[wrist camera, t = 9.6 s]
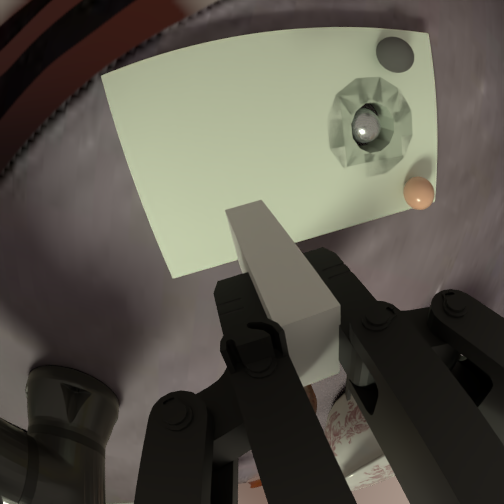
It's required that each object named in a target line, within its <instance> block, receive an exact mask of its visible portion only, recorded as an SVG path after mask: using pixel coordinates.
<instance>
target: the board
mask: <svg viewBox="0 0 504 504" xmlns="http://www.w3.org/2000/svg"><path fill="white" fill-rule="evenodd" d="M386 37H398V38H401V39H403V40H404V41H406V42H407V43H408V44H409V45H410V46H411V48H412V50H413V52H414V63H413V65H412V67H411V68H410V69H409V70H407V71H405V72H402V73H394V72H391V71H388V70H387V69H385V68H384V67H383V66H382V65H381V64H380V63H379V61H378V59H377V56H376V48H377V45H378V43H379V42H380V41H381V40H382V39H384V38H386ZM101 78H102V82H103V85H104V89H105V92H106V96H107V100H108V103H109V106H110V110H111V113H112V117H113V120H114V123H115V126H116V129H117V133H118V136H119V139H120V142H121V145H122V148H123V151H124V154H125V157H126V160H127V163H128V166H129V169H130V172H131V174H132V177H133V180H134V183H135V186H136V188H137V191H138V194H139V196H140V199H141V202H142V204H143V207H144V210H145V212H146V215H147V217H148V220H149V223H150V225H151V228H152V230H153V233H154V235H155V238H156V240H157V242H158V245H159V247H160V250H161V252H162V254H163V257H164V259H165V262H166V264H167V266H168V269H169V271H170V273H171V275H172V278H177V277H180V276H184V275H187V274H190V273H194V272H197V271H201V270H204V269H208V268H211V267H214V266H218V265H221V264H225V263H228V262H232V261H235V260H238V257H237V253H236V250H235V246H234V242H233V239H232V235H231V231H230V228H229V224H228V220H227V216H226V213H225V210H227V209H230V208H234V207H237V206H241V205H244V204H247V203H251V202H255V201H258V200H262V201H263V202H264V203H265V205H266V206H267V207H268V209H269V210H270V211H271V212H272V214H273V215H274V216H275V218H276V219H277V220H278V222H279V223H280V224H281V225H282V227H283V228H284V229H285V231H286V232H287V233H288V235H289V236H290V237H291V239H292V240H293V241H294V243H296V242H300V241H303V240H307V239H310V238H313V237H317V236H320V235H324V234H327V233H330V232H334V231H337V230H340V229H344V228H347V227H351V226H354V225H357V224H361V223H364V222H367V221H371V220H374V219H378V218H381V217H384V216H388V215H391V214H394V213H398V212H401V211H404V210H408V209H411V208H412V207H410V206H409V205H408V204H407V203H406V201H405V199H404V195H403V189H404V186H405V184H406V182H407V181H408V180H409V179H411V178H413V177H416V176H420V177H424V178H426V179H427V180H428V181H430V183H431V184H432V186H433V188H434V194H435V192H436V175H437V109H436V93H435V81H434V71H433V62H432V54H431V47H430V41H429V35H428V33H422V32H414V31H406V30H396V29H383V28H365V27H321V28H301V29H289V30H278V31H270V32H262V33H254V34H248V35H242V36H236V37H230V38H225V39H220V40H215V41H210V42H206V43H201V44H197V45H193V46H189V47H185V48H181V49H178V50H174V51H170V52H167V53H164V54H160V55H157V56H154V57H151V58H148V59H145V60H142V61H139V62H136V63H133V64H130V65H127V66H125V67H122V68H119V69H117V70H114V71H112V72H109V73H107V74H104V75H102V76H101ZM365 103H370V104H372V106H373V107H374V109H375V110H376V112H377V114H378V118H379V120H380V124H381V129H380V133H379V135H378V136H377V138H376V139H375V140H373V141H371V142H369V143H368V144H367V145H363V146H358V145H357V144H356V142H355V141H354V139H353V136H352V127H351V123H352V121H353V118H354V115H355V113H356V111H357V110H358V109H359V108H361V107H362V106H363V105H364V104H365ZM433 202H435V195H434V200H433Z"/></svg>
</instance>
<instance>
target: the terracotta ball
mask: <svg viewBox="0 0 504 504" xmlns="http://www.w3.org/2000/svg"><path fill="white" fill-rule="evenodd" d="M403 195H404V199H405V201H406V203H407V204H408V205H409V206H410V207H412V208H414V209H417V210H423V209H426V208H427V207H429V206H430V205H431V204H432V202H433V200H434V195H435V194H434V188H433V186H432V184H431V183H430V181H428V180H427V179H426V178H424V177H420V176H416V177H413V178H411V179H409V180H408V181H407V182H406V184H405V186H404V189H403Z"/></svg>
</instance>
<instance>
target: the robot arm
mask: <svg viewBox="0 0 504 504" xmlns="http://www.w3.org/2000/svg"><path fill="white" fill-rule="evenodd" d="M225 213H226V216H227V220H228V224H229V228H230V231H231V235H232V239H233V242H234V246H235V250H236V253H237V257H238V261H239V264H240V268H241V270H242V273H243V274H240V275H237V276H234V277H230V278H227V279H224V280H221V281H218V282H217V285H216V288H215V291H214V297H215V302H216V306H217V310H218V315H219V319H220V323H221V327H222V331H223V335H224V336H223V338H222V339H221V341H220V352H221V354H222V356H223V359H224V361H225V363H226V365H227V368H226V370H225V372H224V374H223V375H222V376H221V377H220V379H219V380H218V381H216V382H215V383H214V384H212V385H211V386H209V387H208V388H206V389H204V390H203V391H201V392H199V393H197V394H194V393H193V392H188V391H176V392H171V393H169V394H167V395H165V396H163V397H161V398H160V399H159V400H158V401H157V402H156V403H155V405H154V406H153V408H152V410H151V412H150V415H149V419H148V424H147V429H146V434H145V440H144V445H143V450H142V456H141V462H140V468H139V474H138V480H137V486H136V493H135V500H134V504H238V457H240V456H242V455H243V454H245V453H246V452H248V451H250V450H252V453H253V457H254V460H255V463H256V466H257V470H258V473H259V476H260V479H261V483H262V486H263V489H264V492H265V495H266V498H267V501H268V504H357V503H356V501H355V499H354V496H353V494H352V492H351V490H350V488H349V486H348V483H347V481H346V479H345V477H344V475H343V473H342V471H341V468H340V466H339V464H338V462H337V460H336V457H335V455H334V453H333V451H332V449H331V447H330V444H329V442H328V440H327V438H326V436H325V433H324V431H323V429H322V427H321V425H320V422H319V420H318V418H317V416H316V414H315V412H314V409H313V407H312V405H311V403H310V400H309V398H308V396H307V394H306V392H305V389H304V386H307V385H310V384H312V383H315V382H318V381H320V380H323V379H325V378H328V377H330V376H333V375H335V374H338V373H340V363H341V365H342V367H343V369H344V370H345V372H346V374H347V380H346V391H345V396H346V399H347V401H348V400H350V399H351V394H352V396H353V398H354V400H355V402H356V403H357V405H358V407H359V409H360V411H361V412H362V414H363V416H364V418H365V420H366V422H367V423H368V425H369V427H370V429H371V431H372V433H373V435H374V436H375V438H376V440H377V442H378V444H379V446H380V448H381V449H382V451H383V453H384V455H385V457H386V459H387V461H388V462H389V464H390V466H391V468H392V470H393V472H394V474H395V476H396V478H397V479H398V481H399V483H400V485H401V487H402V489H403V491H404V493H405V494H406V497H407V498H408V500H409V502H410V504H504V318H503V317H501V316H500V315H498V314H497V313H496V312H494V311H493V310H491V309H490V308H488V307H486V306H485V305H483V304H482V303H480V302H479V301H477V300H476V299H474V298H473V297H471V296H469V295H468V294H466V293H464V292H462V291H459V290H453V289H449V290H443V291H441V292H439V293H437V294H436V295H435V296H434V298H433V299H432V301H431V305H430V307H427V308H421V309H415V310H407V311H400V310H399V309H398V308H396V307H395V306H394V305H393V304H390V303H387V302H384V301H377V300H376V299H375V298H374V297H373V296H372V294H371V293H370V292H369V291H368V290H367V289H366V287H365V286H364V285H363V284H362V283H361V282H360V281H359V279H358V278H357V277H356V276H355V275H354V274H353V273H352V272H351V271H350V269H349V268H348V267H347V266H346V265H345V264H344V262H343V261H342V260H341V259H340V258H339V257H338V256H337V255H336V253H334V252H332V251H329V250H327V249H325V248H323V247H322V248H319V249H316V250H312V251H309V252H306V253H302V252H301V251H300V249H299V248H298V247H297V245H296V244H295V243H294V241H293V240H292V239H291V237H290V236H289V235H288V233H287V232H286V231H285V229H284V228H283V227H282V225H281V224H280V223H279V222H278V220H277V219H276V218H275V216H274V215H273V214H272V212H271V211H270V210H269V209H268V207H267V206H266V205H265V203H264V202H263V201H262V200H258V201H255V202H251V203H247V204H244V205H241V206H237V207H234V208H230V209H227V210H225ZM460 354H462V355H463V356H461V355H460ZM25 391H26V397H27V408H28V422H29V425H28V431H27V434H26V433H24V432H23V431H21V430H19V429H18V428H16V427H14V426H13V425H11V424H9V423H8V422H6V421H4V420H3V419H1V418H0V504H106V495H105V448H106V445H107V442H108V440H109V437H110V435H111V432H112V430H113V427H114V425H115V423H116V422H117V420H118V412H119V402H118V399H117V397H116V395H115V394H114V393H113V392H112V391H111V390H110V389H109V388H108V387H107V386H106V385H104V384H103V383H102V382H100V381H98V380H97V379H95V378H93V377H91V376H89V375H87V374H85V373H82V372H79V371H76V370H73V369H70V368H66V367H60V366H42V367H38V368H36V369H34V370H32V371H31V373H30V374H29V377H28V380H27V384H26V389H25Z"/></svg>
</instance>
